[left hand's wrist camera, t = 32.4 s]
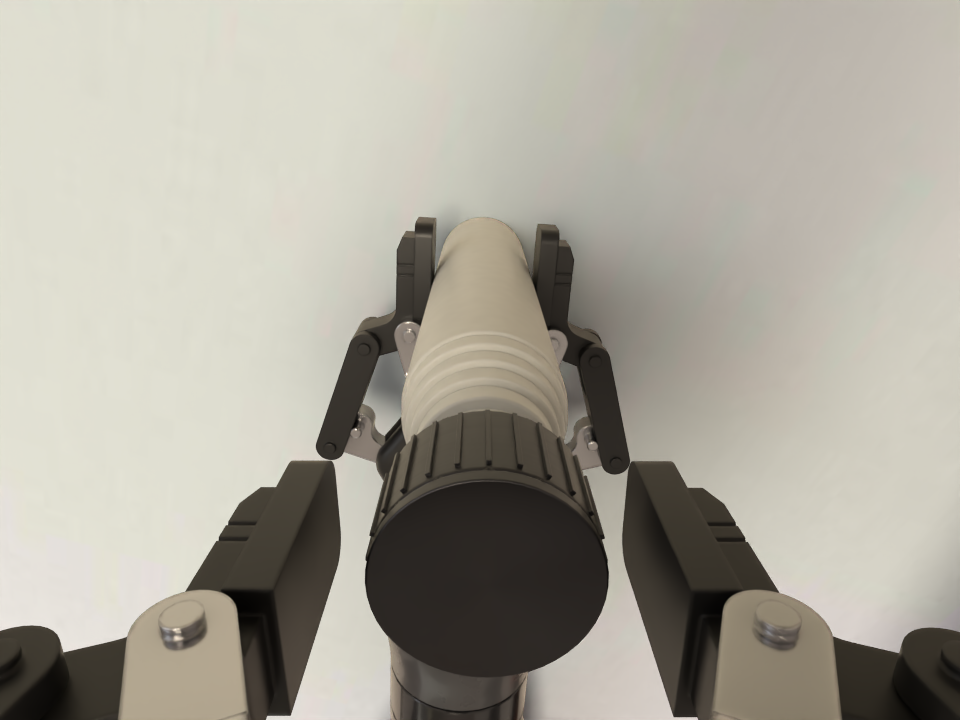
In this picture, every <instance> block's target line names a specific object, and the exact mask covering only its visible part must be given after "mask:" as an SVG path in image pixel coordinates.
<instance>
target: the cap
mask: <svg viewBox="0 0 960 720" xmlns="http://www.w3.org/2000/svg"><path fill="white" fill-rule="evenodd" d="M369 536H371V538H370V542H369V546H368V550H367V554H366V561H367V563H366V569H365V586H366V593H367V598H368V601H369V604H370V608H371V610H372V612H373V614H374V616H375V618H376V621H377V622H378V624H379V625H380V627H381V628H382V630H383V631H384V632H385V634H386V635H387V636H388V637H389V638H390V639H391V640H392V641H393V642H394V643H395V644H396V645H397V646H398V647H399V648H401V649H402V650H403V651H404V652H406V653H407V654H409V655H410V656H412V657H413V658H414V659H416V660H418V661H420V662H422V663H424V664H426V665H428V666H430V667H433V668H436V669H438V670H441V671H444V672H448V673H452V674H455V675H461V676H467V677H480V678H493V677H505V676H512V675H517V674H521V673H525V672H529V671H532V670H535V669H538V668H540V667H543V666H545V665H547V664H549V663H551V662H553V661H555V660H557V659H558V658H560V657H562V656H563V655H565V654H566V653H568V652H569V651H570V650H571V649H573V648H574V647H575V646H576V645H578V644H579V643H580V641H581V640H582V639H583V638H584V637H585V636H586V635H587V634H588V633H589V631H590V630H591V629H592V627H593V626H594V624H595V623H596V621H597V619H598V617H599V615H600V613H601V611H602V609H603V606H604V603H605V600H606V596H607V590H608V580H609V571H608V564H607V563H608V559H607V556H606V552H605V549H604V545H603V542H602V539H605V537H604V533H603V530H602V527H601V523H600V520H599V516H598V513H597V510H596V506H595V503H594V499H593V496H592V492H591V489H590V486H589V482H588V479H587V476H583V472H582V469H581V465H580V462H579V458H578V456H577V455H573V454H572V452H571V451H570V449H569V448H568V447H567V446H566V445H565V444H564V441H563V438H562V437H561V436H559V437H557V436H556V435H555V434H554V433H552V432H551V431H550V430H548V429H546V428H545V427H543V426H542V423H540V422H538V423H536V422H534V421H532V420H530V419H528V418H524V417H521V416H518V415H517V413H512V414H510V413H505V412H499V411H490V410H485V411H473V412H467V413H463V412H460V413H458V414H457V415H454V416H450V417H447V418H444V419H442V420H440V421H438V422H437V420H436V421H434V422H433V424H432V425H430V426H429V427H427V428H425V429H424V430H422V431H421V432H420V433H418V434H417V435H415V434H414V435H412V436H411V440H410V441H409V442H408V443H407V444H406V445H405V447H404V448H403V449H402V451H401V452H400V453H398V452H397V453H396V454H395V457H394V461H393V465H392V467H391V470H390V473H389V474H388V473H386V474H385V478H384V482H383V485H382V489H381V493H380V497H379V501H378V504H377V508H376V512H375V516H374V520H373V523H372V527H371V531H370V535H369Z"/></svg>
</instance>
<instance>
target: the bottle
mask: <svg viewBox="0 0 960 720" xmlns="http://www.w3.org/2000/svg"><path fill="white" fill-rule="evenodd" d="M485 410H490V411H499V412H505V413H510V414H512V413H517V415H518V416H521V417H524V418H528V419H530V420H532V421H534V422H536V423H538V422H540V423H542V426H543V427H545V428H546V429H548V430H550V431H551V432H552V433H554V434H555V435H556V436H557V437H559V436H561V437H562V438H563V441H564V438H565V434H566V431H567V423H568V403H567V393H566V388H565V385H564V382H563V378H562V375H561V372H560V369H559V365H558V362H557V359H556V356H555V353H554V349H553V346H552V343H551V340H550V336H549V333H548V330H547V327H546V323H545V320H544V317H543V314H542V310H541V307H540V304H539V301H538V298H537V294H536V291H535V288H534V285H533V281H532V278H531V275H530V272H529V268H528V265H527V262H526V259H525V256H524V252H523V249H522V246H521V243H520V241H519V239H518V237H517V235H516V234H515V233H514V232H513V230H512V229H511V228H509V227H508V226H507V225H506V224H504V223H502V222H500V221H498V220H495V219H492V218H485V217H480V218H473V219H469V220H467V221H465V222H463V223H461V224H459V225H458V226H457V227H455V228H454V229H453V230H452V231H451V233H450V234H449V235H448V237H447V238H446V240H445V242H444V245H443V248H442V252H441V256H440V259H439V263H438V266H437V270H436V273H435V277H434V281H433V284H432V288H431V291H430V295H429V298H428V302H427V306H426V309H425V313H424V316H423V320H422V323H421V327H420V331H419V334H418V338H417V341H416V345H415V348H414V352H413V356H412V359H411V363H410V366H409V370H408V373H407V377H406V381H405V384H404V388H403V393H402V400H401V411H402V415H401V422H402V430H403V434H404V438H405V441H406V444H407V443H408V442H409V441H410V440H411V436H412V435H414V434H415V435H417V434H418V433H420V432H421V431H422V430H424V429H425V428H427V427H429V426H430V425H432V424H433V422H434V421H436V420H437V422H438V421H440V420H442V419H444V418H447V417H450V416H454V415H457V414H458V413H460V412H463V413H467V412H473V411H485Z"/></svg>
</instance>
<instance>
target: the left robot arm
mask: <svg viewBox="0 0 960 720" xmlns="http://www.w3.org/2000/svg"><path fill="white" fill-rule="evenodd" d="M622 545H623V556H624V562H625V566H626V570H627V573H628V576H629V579H630V582H631V585H632V588H633V592H634V595H635V598H636V601H637V604H638V607H639V610H640V613H641V617H642V620H643V623H644V626H645V629H646V632H647V635H648V638H649V641H650V645H651V648H652V651H653V654H654V657H655V660H656V663H657V666H658V670H659V673H660V676H661V679H662V682H663V685H664V688H665V691H666V694H667V698H668V701H669V704H670V707H671V710H672V713H673V716H674V717H698V720H960V632H956V631H952V630H948V629H942V628H921V629H917V630H914V631H912V632H910V633H909V634H907V635H906V636H905V638H904V640H903V642H902V646H901V649H900V652H899V653H895V652H891V651H886V650H882V649H878V648H873V647H869V646H865V645H861V644H856V643H852V642H848V641H845V640H841V639H839V638H836V637H833V636H832V632H831V630H830V628H829V626H828V625H827V623H826V622H825V621H824V619H823V618H822V617H821V616H820V615H819V614H818V613H816V612H815V611H814V610H813V609H811V608H810V607H808V606H807V605H805V604H804V603H802V602H800V601H798V600H796V599H794V598H792V597H789V596H787V595H784V594H781V593H779V591H778V590H777V588H776V587H775V585H774V583H773V582H772V580H771V578H770V577H769V575H768V574H767V572H766V570H765V569H764V567H763V566H762V564H761V562H760V561H759V559H758V558H757V556H756V554H755V553H754V551H753V550H752V548H751V546H750V545H749V543H748V542H746V541H745V537H744V535H743V534H742V532H741V530H740V529H739V527H738V526H736V522H735V521H734V519H733V518H732V516H731V514H730V513H729V511H728V510H727V508H726V506H725V505H724V504H723V503H722V502H721V501H719V500H718V499H717V498H715V497H714V496H713V495H711V494H710V493H709V492H707V491H706V490H705V489H703V488H687V486H686V484H685V482H684V480H683V479H682V477H681V475H680V473H679V471H678V470H677V468H676V466H675V464H674V463H673V462H671V461H632V462H631V463H630V466H629V470H628V478H627V489H626V500H625V511H624V521H623V533H622ZM340 546H341V530H340V519H339V508H338V497H337V486H336V475H335V468H334V464H333V462H332V461H291V462H290V463H289V464H288V466H287V468H286V470H285V472H284V474H283V476H282V477H281V479H280V481H279V483H278V485H277V487H261V488H259V489H258V490H257V491H255V492H254V493H253V494H251V495H250V496H249V497H247V498H246V499H245V500H243V501H242V502H241V503H240V504H239V505H238V507H237V508H236V510H235V512H234V513H233V515H232V517H231V518H230V520H229V521H228V525H226V526H225V528H224V530H223V531H222V533H221V534H220V536H219V541H216V543H215V544H214V546H213V547H212V549H211V551H210V552H209V554H208V556H207V557H206V559H205V560H204V562H203V564H202V565H201V567H200V569H199V570H198V572H197V573H196V575H195V577H194V578H193V580H192V582H191V583H190V585H189V586H188V588H187V590H186V591H185V592H183V593H179V594H176V595H173V596H171V597H168V598H166V599H164V600H162V601H160V602H158V603H156V604H155V605H153V606H152V607H150V608H149V609H147V610H146V611H145V612H144V613H142V614H141V615H140V616H139V617H138V618H137V619H136V621H135V622H134V623H133V625H132V626H131V628H130V630H129V632H128V636H127V637H126V638H123V639H119V640H115V641H112V642H107V643H103V644H99V645H94V646H90V647H86V648H81V649H77V650H73V651H69V652H64V653H63V649H62V646H61V642H60V639H59V637H58V635H57V634H56V633H55V632H54V631H52V630H50V629H48V628H45V627H42V626H20V627H14V628H10V629H6V630H2V631H0V720H266V718H267V716H291V713H292V710H293V707H294V703H295V700H296V697H297V694H298V691H299V687H300V684H301V681H302V678H303V675H304V671H305V668H306V665H307V662H308V659H309V656H310V652H311V649H312V646H313V643H314V640H315V636H316V633H317V630H318V627H319V624H320V621H321V617H322V614H323V611H324V608H325V605H326V601H327V598H328V595H329V592H330V589H331V586H332V582H333V579H334V576H335V573H336V570H337V566H338V562H339V556H340Z"/></svg>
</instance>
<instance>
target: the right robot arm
mask: <svg viewBox="0 0 960 720" xmlns="http://www.w3.org/2000/svg"><path fill="white" fill-rule="evenodd" d="M435 250H436V218H428V217H419V218H418V219H417V221H416V224H415V232H414V231H406V232H405V234H404V235H403V237H402V239H401V242H400V244H399V246H398V249H397V279H396V310H395V311H394V312H393V313H391V314H389V315H386V316H382V317H379V318H377V317H369V318H366V319H365V320H363V321H362V323H361V324H360V326H359V328H358V330H357V331H356V333H355V335H354V337H353V339H352V340H351V342H350V345H349V348H348V351H347V354H346V357H345V360H344V363H343V366H342V369H341V372H340V374H339V377H338V380H337V383H336V386H335V389H334V392H333V395H332V398H331V401H330V404H329V407H328V410H327V413H326V416H325V419H324V422H323V425H322V428H321V431H320V434H319V437H318V440H317V443H316V450H317V452H318V454H319V455H320V456H321V457H323V458H325V459H328V460H335V459H338V458H339V457H341V456H342V454H343V453H344V452H345V453H348V454H351V455H354V456H357V457H360V458H363V459H366V460H369V461H372V462H375V463H376V466H377V470H378V472H379V474H380V476H381V477H382V479H383V481H384V478H385V474H386V473H388V474H389V473H390V470H391V467H392V465H393V461H394V457H395V454H396V453H397V452H398V453H400V452H401V451H402V449H403V448H404V447H405V445H406V441H405V438H404V434H403V430H402V422H401V418H400V419H399V420H398V421H397V422H396V424H395V425H394V426H393V427H392V428H391V429H390V431H389V432H388V433H387V434H386V435H385V436H383V435H381V434H380V433H379V432H378V431H377V429H376V427H375V418H376V416H375V413H374V411H373V409H372V408H370V407H369V406H367V405H364V404H362V403H363V400H364V397H365V394H366V391H367V389H368V386H369V383H370V380H371V377H372V375H373V372H374V369H375V366H376V363H377V361H378V358H379V356H380V355H384V354H387V353H391V352H394V351H398V352H399V356H400V359H401V363H402V366H403V370H404V374H405V379H406V377H407V373H408V370H409V366H410V363H411V359H412V356H413V352H414V348H415V345H416V341H417V338H418V334H419V331H420V327H421V323H422V320H423V316H424V313H425V309H426V306H427V302H428V298H429V295H430V291H431V288H432V284H433V281H434V277H435ZM573 264H574V259H573V255H572V251H571V248H570V246H569V244H568V243H567V241H566V240H559V230H558V228H557V227H556V225H548V224H538V225H537V231H536V242H535V253H534V264H533V274H532V281H533V285H534V288H535V291H536V294H537V298H538V301H539V304H540V307H541V310H542V314H543V317H544V320H545V323H546V327H547V330H548V333H549V336H550V340H551V343H552V346H553V349H554V353H555V356H556V359H557V362H558V365H559V366H560V364H561V361H562V360H563V361H565V362H568V363H570V364H572V365H575V366H577V368H578V372H579V377H580V382H581V386H582V391H583V395H584V400H585V405H586V409H587V414H588V417H583V418H581V419H580V420H578V421H577V422H576V424H575V426H574V436H573V438H572V440H571V441H570V442H569V443H568V444H566V446H567V447H568V448H569V449H570V451H571V452H572V454H573V455H577V456H578V458H579V462H580V465H581V469H582V470H584V469H589V468H594V467H598V466H602V467H603V469H604V470H605V471H606V472H608V473H610V474H620V473H622V472H624V471H625V470H626V469H627V468H628V466H629V464H630V458H629V453H628V448H627V443H626V438H625V433H624V427H623V422H622V417H621V412H620V407H619V402H618V397H617V392H616V387H615V381H614V376H613V371H612V366H611V361H610V357H609V354H608V352H607V351H606V349H605V348H604V347H603V345H602V342H601V339H600V337H599V335H598V334H597V333H596V332H595V331H594V330H592V329H581V328H578V327H576V326H574V325H572V324H570V323H569V322H568V321H567V317H568V308H569V299H570V291H571V282H572V273H573ZM388 639H389V645H390V650H391V678H390V717H391V720H524V718H523V710H524V703H525V694H526V686H527V677H528V672H525V673H521V674H517V675H512V676H505V677H493V678H480V677H467V676H461V675H455V674H452V673H448V672H444V671H441V670H438V669H436V668H433V667H430V666H428V665H426V664H424V663H422V662H420V661H418V660H416V659H414V658H413V657H412V656H410V655H409V654H407V653H406V652H404V651H403V650H402V649H401V648H399V647H398V646H397V645H396V644H395V643H394V642H393V641H392V640H391V639H390V638H389V637H388Z"/></svg>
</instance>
